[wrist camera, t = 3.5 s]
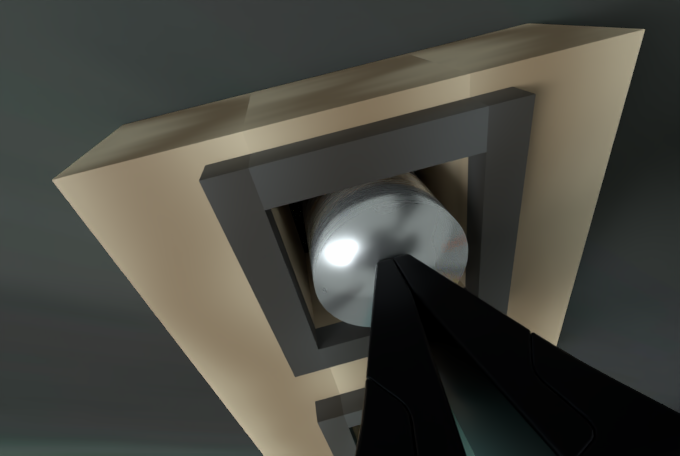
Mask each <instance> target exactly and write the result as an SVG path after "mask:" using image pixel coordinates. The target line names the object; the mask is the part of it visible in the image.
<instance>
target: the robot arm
mask: <svg viewBox="0 0 680 456" xmlns="http://www.w3.org/2000/svg"><path fill="white" fill-rule="evenodd" d="M452 411H453V413H454V415H455V417H456V419H457V421H458V423H459V425H460V427H461V429H462V431H463V433H464V435H465V437H466V439H467V441H468V443H469V445H470V447H471V448H472V450H473V452H474V454H475V456H680V413H678V412H676V411H674V410H672V409H670V408H668V407H667V406H665V405H663V404H661V403H659V402H657V401H655V400H653V399H651V398H649V397H647V396H646V395H644V394H642V393H640V392H638V391H636V390H634V389H632V388H630V387H628V386H626V385H625V384H623V383H621V382H619V381H617V380H615V379H613V378H611V377H609V376H608V375H606V374H604V373H602V372H600V371H599V370H597V369H595V368H593V367H591V366H589V365H588V364H586V363H584V362H582V361H580V360H578V359H577V358H575V357H573V356H572V355H570V354H568V353H567V352H565V351H563V350H562V349H560V348H558V347H557V346H555V345H553V344H552V343H550V342H549V341H547V340H545V339H544V338H542V337H541V336H539V335H537V334H536V333H534V332H532V333H531V331H530V330H529V329H528V328H526V327H524V326H523V325H521V324H520V323H518V322H517V321H515V320H513V319H512V318H510V317H509V316H507V315H505V314H504V313H502V312H501V311H499V310H497V309H496V308H494V307H493V306H491V305H490V304H488V303H486V302H485V301H483V300H482V299H480V298H478V297H477V296H475V295H474V294H472V293H470V292H469V291H467V290H466V289H464V288H463V287H461V286H459V285H458V284H456V283H455V282H453V281H451V280H450V279H448V278H447V277H445V276H443V275H442V274H440V273H439V272H437V271H436V270H434V269H432V268H431V267H429V266H428V265H426V264H424V263H423V262H421V261H420V260H418V259H416V258H415V257H413V256H412V255H410V254H404V255H400V256H397V257H394V258H393V260H392V259H386V260H382V261H378V262H377V263H376V270H375V282H374V293H373V304H372V316H371V327H370V338H369V349H368V361H367V372H366V381H365V392H364V401H363V409H362V417H361V425H360V430H359V436H358V441H357V446H356V452H355V456H467V455H466V452H465V449H464V446H463V443H462V440H461V437H460V434H459V431H458V428H457V425H456V422H455V419H454V416H453V413H452Z"/></svg>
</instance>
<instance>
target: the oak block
mask: <svg viewBox="0 0 680 456" xmlns="http://www.w3.org/2000/svg"><path fill="white" fill-rule="evenodd" d="M644 32H645V29H633V28H613V27H593V26H572V25H552V24H532V23H528V24H524V25H520V26H516V27H512V28H508V29H504V30H500V31H496V32H492V33H488V34H484V35H480V36H476V37H472V38H468V39H464V40H460V41H456V42H452V43H448V44H444V45H440V46H436V47H432V48H428V49H424V50H420V51H416V52H412V53H408V54H404V55H400V56H396V57H392V58H388V59H384V60H380V61H376V62H372V63H368V64H364V65H360V66H356V67H352V68H348V69H344V70H340V71H336V72H332V73H328V74H324V75H320V76H316V77H312V78H308V79H304V80H300V81H296V82H292V83H288V84H284V85H280V86H276V87H272V88H268V89H264V90H260V91H256V92H252V93H248V94H244V95H240V96H236V97H232V98H228V99H224V100H220V101H216V102H212V103H208V104H204V105H200V106H196V107H192V108H188V109H184V110H180V111H176V112H172V113H168V114H164V115H160V116H156V117H152V118H148V119H144V120H140V121H136V122H132V123H128V124H124V125H122V126H121V127H120V128H118V129H117V130H116V131H114V132H113V133H112V134H111V135H109V136H108V137H107V138H105V139H104V140H103V141H101V142H100V143H99V144H98V145H96V146H95V147H94V148H92V149H91V150H90V151H89V152H87V153H86V154H85V155H83V156H82V157H81V158H79V159H78V160H77V161H76V162H74V163H73V164H72V165H70V166H69V167H68V168H67V169H65V170H64V171H63V172H61V173H60V174H59V175H57V176H56V177H55V178H54V179H52V181H53V182H54V183H55V185H56V186H57V187H58V189H59V190H60V191H61V193H62V194H63V195H64V196H65V198H66V199H67V200H68V202H69V203H70V204H71V206H72V207H73V208H74V209H75V211H76V212H77V213H78V215H79V216H80V217H81V219H82V220H83V221H84V222H85V224H86V225H87V226H88V228H89V229H90V230H91V232H92V233H93V234H94V235H95V237H96V238H97V239H98V241H99V242H100V243H101V245H102V246H103V247H104V248H105V250H106V251H107V252H108V254H109V255H110V256H111V258H112V259H113V260H114V261H115V263H116V264H117V265H118V267H119V268H120V269H121V271H122V272H123V273H124V274H125V276H126V277H127V278H128V280H129V281H130V282H131V284H132V285H133V286H134V287H135V289H136V290H137V291H138V293H139V294H140V295H141V297H142V298H143V299H144V300H145V302H146V303H147V304H148V306H149V307H150V308H151V310H152V311H153V312H154V313H155V315H156V316H157V317H158V319H159V320H160V321H161V323H162V324H163V325H164V326H165V328H166V329H167V330H168V332H169V333H170V334H171V336H172V337H173V338H174V339H175V341H176V342H177V343H178V345H179V346H180V347H181V349H182V350H183V351H184V352H185V354H186V355H187V356H188V358H189V359H190V360H191V362H192V363H193V364H194V365H195V367H196V368H197V369H198V371H199V372H200V373H201V375H202V376H203V377H204V378H205V380H206V381H207V382H208V384H209V385H210V386H211V388H212V389H213V390H214V391H215V393H216V394H217V395H218V397H219V398H220V399H221V401H222V402H223V403H224V404H225V406H226V407H227V408H228V410H229V411H230V412H231V414H232V415H233V416H234V417H235V419H236V420H237V421H238V423H239V424H240V425H241V426H242V428H243V429H244V430H245V432H246V433H247V434H248V436H249V437H250V438H251V439H252V441H253V442H254V443H255V445H256V446H257V447H258V449H259V450H260V451H261V452H262V454H263V455H264V456H355V452H356V446H357V441H358V436H359V430H360V425H361V417H362V409H363V401H364V392H365V381H366V372H367V361H368V349H369V338H370V327H362V326H356V325H352V324H349V323H346V322H344V321H341V320H339V319H338V318H336V317H334V316H333V315H332V314H330V313H329V312H328V311H327V310H326V309H325V308H324V307H323V306H322V304H321V303H320V301H319V299H318V297H317V295H316V291H315V287H314V282H313V275H312V269H311V263H310V256H309V252H308V253H305V252H304V249H303V246H302V243H301V240H300V237H299V234H298V231H297V228H296V225H295V222H294V219H293V216H292V213H291V210H290V207H289V204H290V203H294V202H298V201H302V200H306V199H309V198H313V197H317V196H321V195H325V194H328V193H332V192H336V191H340V190H344V189H347V188H351V187H355V186H359V185H363V184H366V183H370V182H374V181H378V180H382V179H386V178H389V177H393V176H397V175H401V174H405V173H408V172H412V171H416V175H417V177H418V178H419V179H420V180H421V181H422V182H423V183H424V185H425V186H426V187H427V188H428V189H429V190H430V191H431V192H432V194H433V195H434V196H435V197H436V198H437V199H438V200H439V201H440V203H441V204H442V205H443V206H444V207H445V208H446V209H447V211H448V212H449V213H450V214H451V215H452V216H453V217H454V218H455V220H456V221H457V222H458V223H459V224H460V226H461V227H462V229H463V231H464V233H465V235H466V239H467V243H468V259H467V263H466V267H465V270H464V272H463V275H462V277H461V278H460V280H459V282H458V285H459V286H461V287H463V288H464V289H466V290H467V291H469V292H470V293H472V294H474V295H475V296H477V297H478V298H480V299H482V300H483V301H485V302H486V303H488V304H490V305H491V306H493V307H494V308H496V309H497V310H499V311H501V312H502V313H504V314H505V315H507V316H509V317H510V318H512V319H513V320H515V321H517V322H518V323H520V324H521V325H523V326H524V327H526V328H528V329H529V330H530V331H531V333H532V332H534V333H536V334H537V335H539V336H541V337H542V338H544V339H545V340H547V341H549V342H550V343H552V344H553V345H555V346H557V342H558V338H559V335H560V331H561V328H562V324H563V321H564V317H565V313H566V310H567V306H568V303H569V299H570V296H571V292H572V288H573V285H574V281H575V278H576V274H577V271H578V267H579V263H580V260H581V256H582V253H583V249H584V246H585V242H586V239H587V235H588V231H589V228H590V224H591V221H592V217H593V214H594V210H595V206H596V203H597V199H598V196H599V192H600V189H601V185H602V181H603V178H604V174H605V171H606V167H607V164H608V160H609V156H610V153H611V149H612V146H613V142H614V139H615V135H616V131H617V128H618V124H619V121H620V117H621V114H622V110H623V107H624V103H625V99H626V96H627V92H628V89H629V85H630V82H631V78H632V74H633V71H634V67H635V64H636V60H637V57H638V53H639V49H640V46H641V42H642V39H643V35H644ZM473 453H474V452H473ZM474 455H475V454H474Z"/></svg>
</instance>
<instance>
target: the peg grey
mask: <svg viewBox="0 0 680 456" xmlns="http://www.w3.org/2000/svg"><path fill="white" fill-rule="evenodd" d="M301 206H302V212H303V218H304V225H305V231H306V237H307V244H308V250H309V256H310V263H311V269H312V275H313V282H314V287H315V291H316V295H317V297H318V299H319V301H320V303H321V304H322V306H323V307H324V308H325V309H326V310H327V311H328V312H329V313H330V314H332V315H333V316H334V317H336V318H338V319H339V320H341V321H344V322H346V323H349V324H352V325H356V326H362V327H371V316H372V304H373V293H374V282H375V270H376V263H377V262H378V261H382V260H386V259H392V260H393V258H394V257H397V256H400V255H404V254H410V255H412V256H413V257H415V258H416V259H418V260H420V261H421V262H423V263H424V264H426V265H428V266H429V267H431V268H432V269H434V270H436V271H437V272H439V273H440V274H442V275H443V276H445V277H447V278H448V279H450V280H451V281H453V282H455V283H456V284H458V282H459V280H460V278H461V277H462V275H463V272H464V270H465V267H466V263H467V259H468V243H467V239H466V235H465V233H464V231H463V229H462V227H461V226H460V224H459V223H458V222H457V221H456V220H455V218H454V217H453V216H452V215H451V214H450V213H449V212H448V211H447V209H446V208H445V207H444V206H443V205H442V204H441V203H440V201H439V200H438V199H437V198H436V197H435V196H434V195H433V194H432V192H431V191H430V190H429V189H428V188H427V187H426V186H425V185H424V183H423V182H422V181H421V180H420V179H419V178H418V177H417V175H416V174H415V173H414V172H413V171H412V172H408V173H405V174H401V175H397V176H393V177H389V178H386V179H382V180H378V181H374V182H370V183H366V184H363V185H359V186H355V187H351V188H347V189H344V190H340V191H336V192H332V193H328V194H325V195H321V196H317V197H313V198H309V199H306V200H302V201H301Z"/></svg>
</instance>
